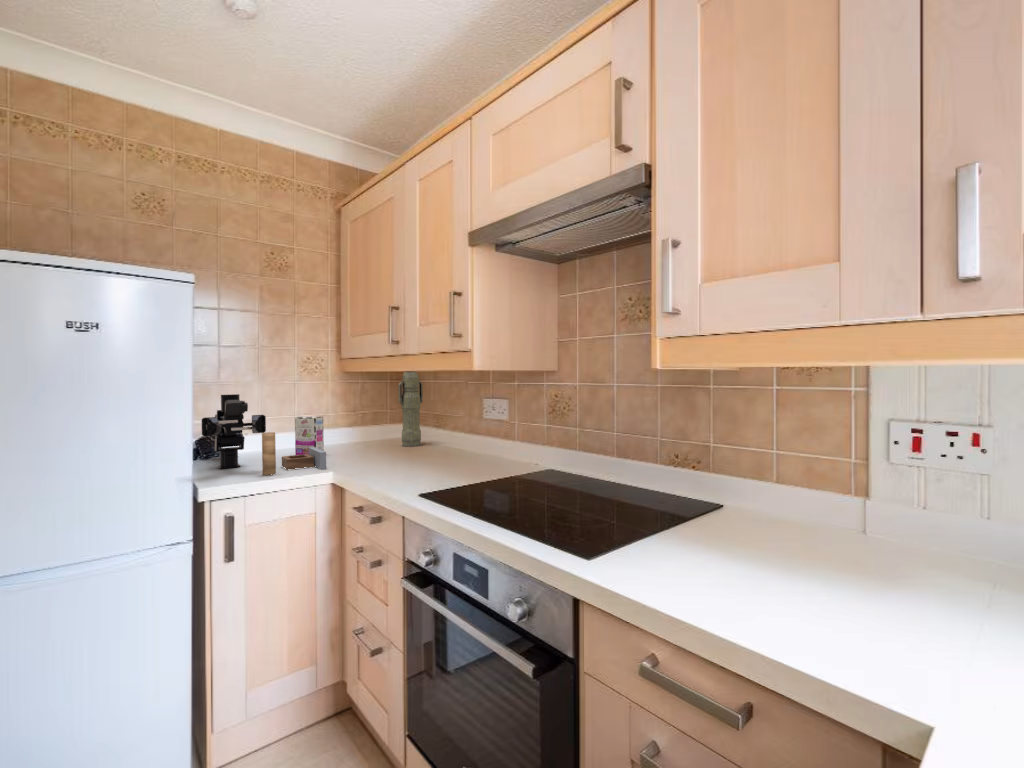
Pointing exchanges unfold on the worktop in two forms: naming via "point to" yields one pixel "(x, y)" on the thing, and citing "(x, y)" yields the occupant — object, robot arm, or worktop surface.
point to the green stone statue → (411, 408)
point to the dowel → (268, 453)
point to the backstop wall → (318, 457)
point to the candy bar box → (308, 434)
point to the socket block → (297, 461)
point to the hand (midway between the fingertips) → (238, 427)
